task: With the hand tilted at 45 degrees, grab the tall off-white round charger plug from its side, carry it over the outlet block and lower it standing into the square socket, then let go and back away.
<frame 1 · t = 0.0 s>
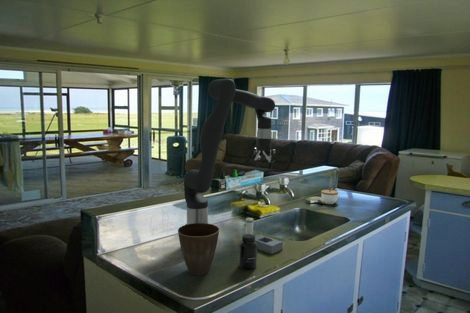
hand: (263, 168, 188), 29 cm above the counter, tool pointing down, fingers open, 8 cm apart
supplement bottle: (248, 267, 138), on the counter
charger: (249, 238, 168), on the counter
outlet: (265, 247, 157), on the counter
plant pot: (198, 271, 133), on the counter
lidded jar: (329, 203, 235), on the counter
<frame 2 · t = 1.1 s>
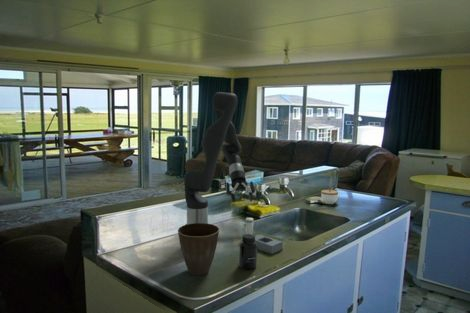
hand: (242, 201, 177), 15 cm above the counter, tool tilted 45°, fingers open, 8 cm apart
nothing on the counter moved.
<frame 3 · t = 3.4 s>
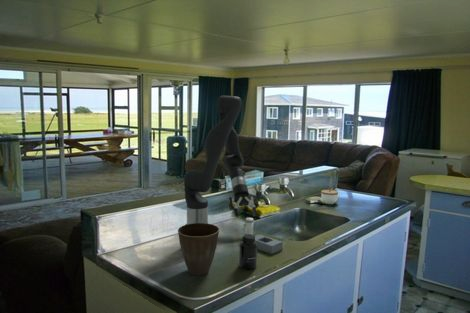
hand: (246, 216, 171), 9 cm above the counter, tool tilted 45°, fingers open, 8 cm apart
nothing on the counter moved.
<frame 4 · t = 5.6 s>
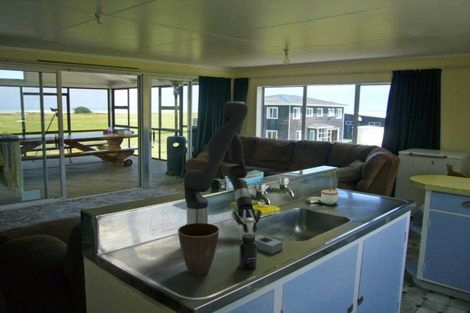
hand: (250, 231, 165), 4 cm above the counter, tool tilted 45°, fingers closed on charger, 3 cm apart
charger: (249, 238, 168), on the counter, touching gripper
everything else where it was.
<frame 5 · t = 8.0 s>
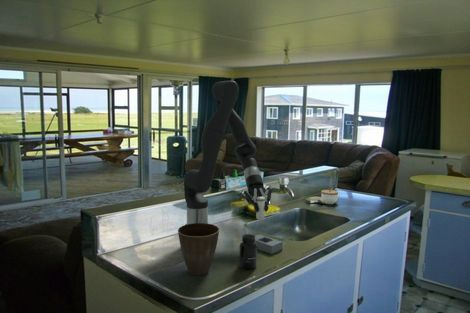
hand: (262, 210, 157), 16 cm above the counter, tool tilted 45°, fingers closed on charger, 3 cm apart
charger: (260, 218, 159), point 12 cm above the counter, touching gripper
everything else where it was.
when the fingers open (5 cm above the counter, at t = 10.3 s): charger drops 1 cm, resting in outlet.
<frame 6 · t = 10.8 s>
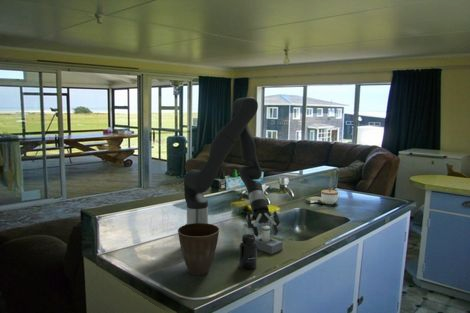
hand: (266, 235, 155), 6 cm above the counter, tool tilted 45°, fingers open, 8 cm apart
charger: (265, 247, 157), resting in outlet
everything else where it was.
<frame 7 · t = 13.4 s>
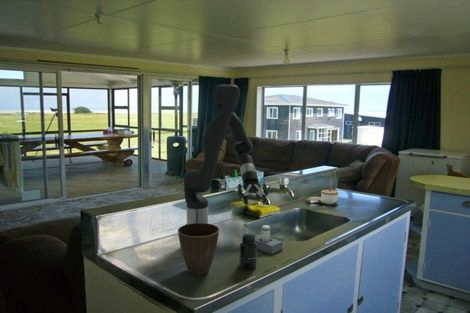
hand: (255, 203, 166), 16 cm above the counter, tool tilted 45°, fingers open, 8 cm apart
nothing on the counter moved.
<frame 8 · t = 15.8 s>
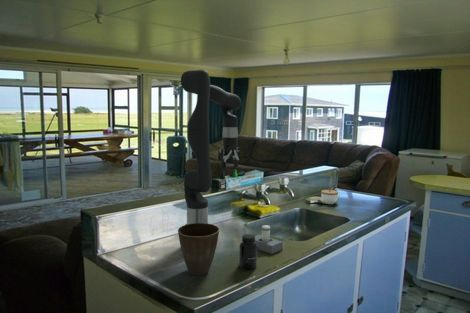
hand: (229, 168, 181), 30 cm above the counter, tool pointing down, fingers open, 8 cm apart
nothing on the counter moved.
at the end: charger 0.1 cm off-centre on the outlet, point 0.0 cm above the outlet's base; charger tilted 0°; the gripper is holding nothing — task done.
